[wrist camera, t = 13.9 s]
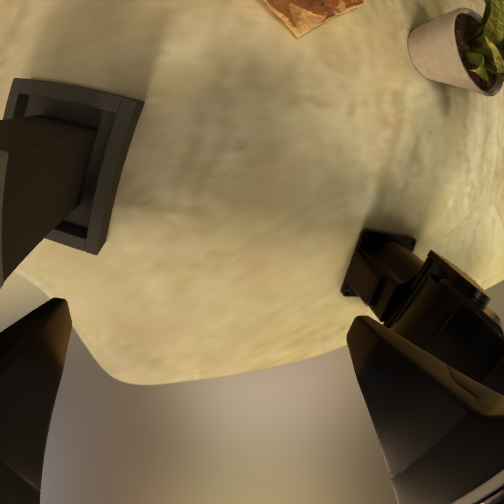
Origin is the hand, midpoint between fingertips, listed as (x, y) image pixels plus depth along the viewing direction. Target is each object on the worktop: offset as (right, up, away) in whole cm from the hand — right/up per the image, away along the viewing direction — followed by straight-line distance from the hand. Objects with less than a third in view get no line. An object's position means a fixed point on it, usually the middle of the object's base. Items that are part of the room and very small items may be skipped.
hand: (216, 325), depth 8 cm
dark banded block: (-12, +8, +7) cm, 17 cm away
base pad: (-12, +9, +8) cm, 17 cm away
